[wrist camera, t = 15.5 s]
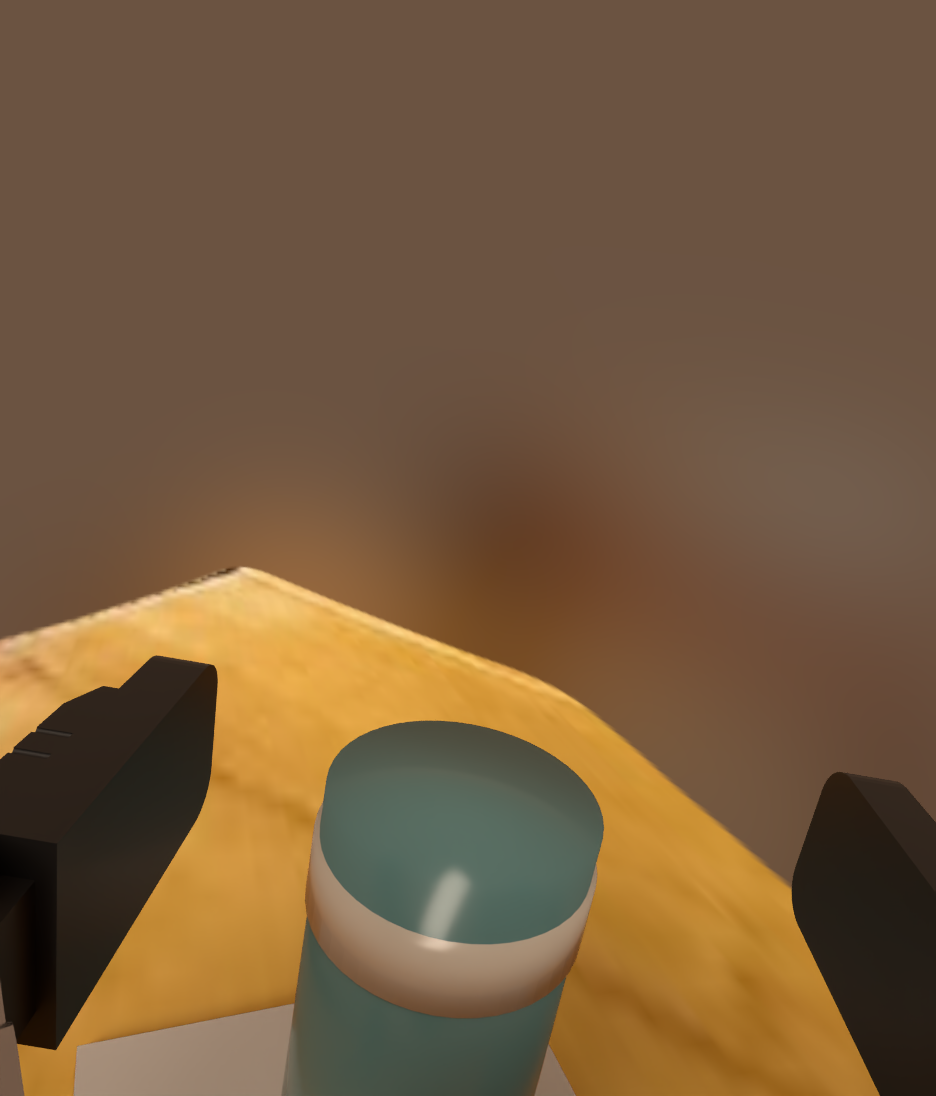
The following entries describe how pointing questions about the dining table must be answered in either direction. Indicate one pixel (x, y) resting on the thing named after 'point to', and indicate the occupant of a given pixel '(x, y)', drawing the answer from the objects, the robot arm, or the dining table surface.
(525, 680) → the dining table surface
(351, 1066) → the canister
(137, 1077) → the pad
